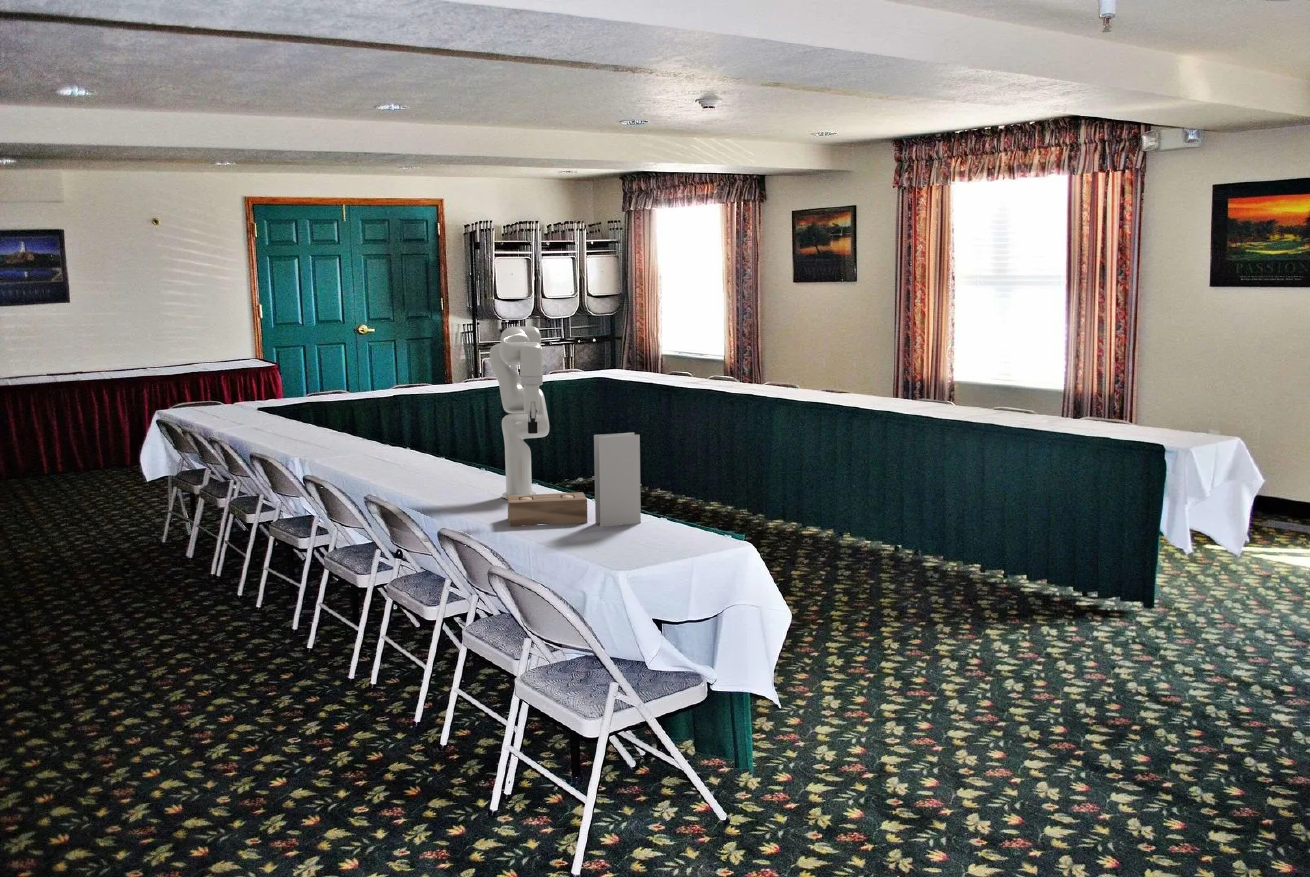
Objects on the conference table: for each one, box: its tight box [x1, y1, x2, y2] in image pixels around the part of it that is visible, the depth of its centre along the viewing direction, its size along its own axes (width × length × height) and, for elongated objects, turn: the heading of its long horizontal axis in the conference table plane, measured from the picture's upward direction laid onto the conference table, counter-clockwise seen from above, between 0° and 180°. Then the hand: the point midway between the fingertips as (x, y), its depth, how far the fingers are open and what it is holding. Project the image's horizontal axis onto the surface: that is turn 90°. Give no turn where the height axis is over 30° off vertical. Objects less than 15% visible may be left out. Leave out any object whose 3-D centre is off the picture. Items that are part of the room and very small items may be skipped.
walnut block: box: [506, 491, 588, 527], centre depth 373 cm, size 12×26×8 cm, turn 100°
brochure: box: [593, 432, 642, 528], centre depth 367 cm, size 14×6×30 cm, turn 111°
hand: (532, 433), depth 381 cm, fingers closed
